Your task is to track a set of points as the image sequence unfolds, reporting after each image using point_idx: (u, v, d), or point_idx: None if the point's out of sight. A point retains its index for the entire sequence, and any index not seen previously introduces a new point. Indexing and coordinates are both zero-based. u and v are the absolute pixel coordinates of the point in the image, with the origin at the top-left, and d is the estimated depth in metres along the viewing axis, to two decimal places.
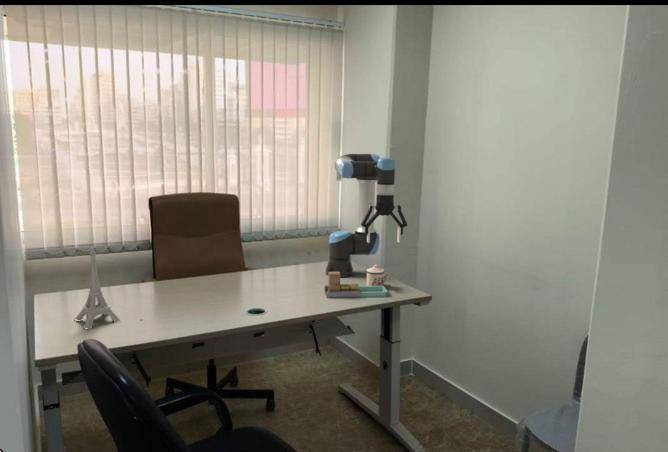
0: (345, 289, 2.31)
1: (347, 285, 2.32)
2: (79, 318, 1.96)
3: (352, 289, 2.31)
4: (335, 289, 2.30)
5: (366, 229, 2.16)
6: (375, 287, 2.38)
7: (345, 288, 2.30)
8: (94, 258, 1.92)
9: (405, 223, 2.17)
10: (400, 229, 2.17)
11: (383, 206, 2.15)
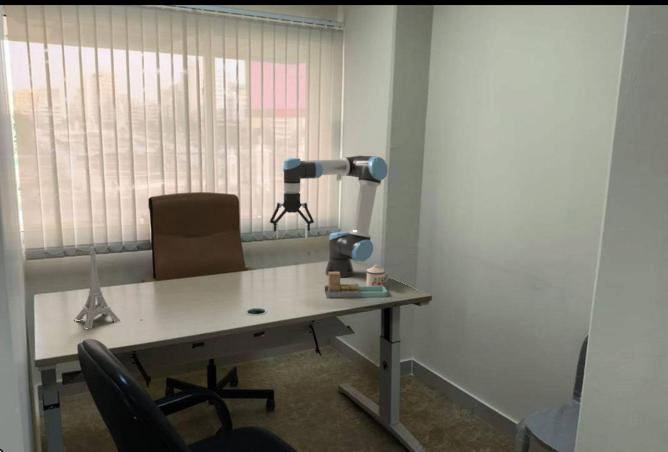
0: (345, 289, 2.31)
1: (347, 285, 2.32)
2: (79, 318, 1.96)
3: (352, 289, 2.31)
4: (335, 289, 2.30)
5: (274, 225, 2.28)
6: (375, 287, 2.38)
7: (345, 288, 2.30)
8: (94, 258, 1.92)
9: (311, 220, 2.29)
10: (307, 225, 2.29)
11: (290, 204, 2.27)
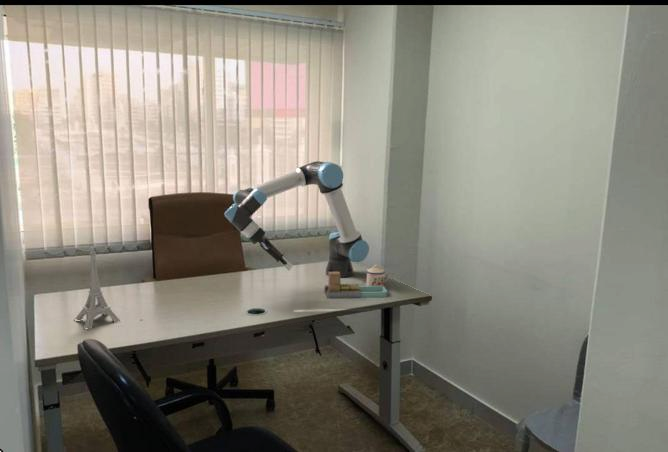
0: (345, 289, 2.31)
1: (347, 285, 2.32)
2: (79, 318, 1.96)
3: (352, 289, 2.31)
4: (335, 289, 2.30)
5: None
6: (375, 287, 2.38)
7: (345, 288, 2.30)
8: (94, 258, 1.92)
9: None
10: None
11: None
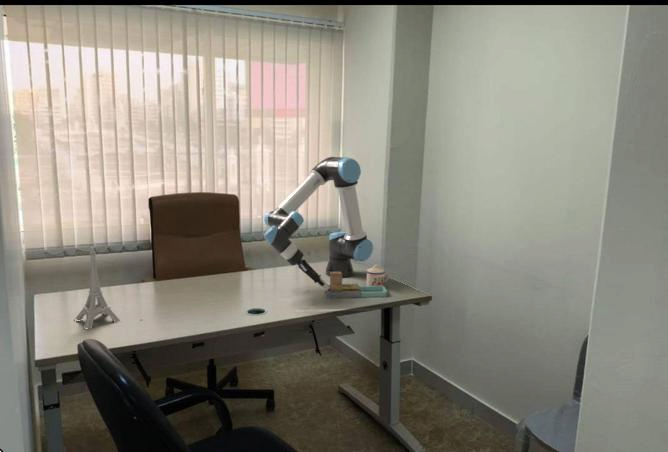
0: (346, 289, 2.31)
1: (348, 285, 2.32)
2: (79, 318, 1.96)
3: (352, 289, 2.31)
4: (337, 289, 2.30)
5: None
6: (375, 287, 2.38)
7: (346, 288, 2.31)
8: (94, 258, 1.92)
9: None
10: (317, 282, 2.29)
11: None
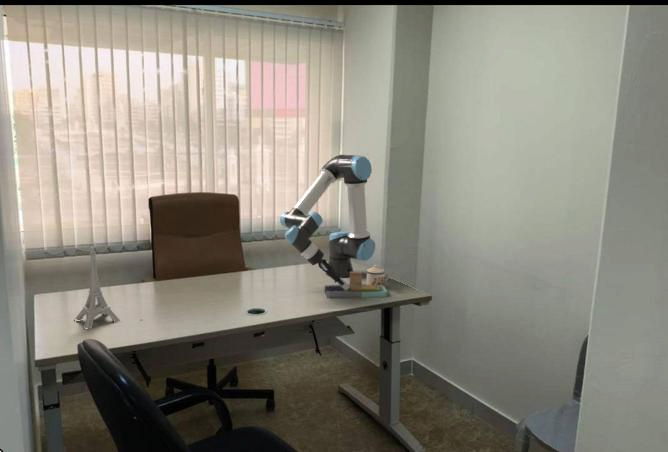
0: (365, 289, 2.32)
1: (367, 285, 2.34)
2: (79, 318, 1.96)
3: (371, 290, 2.32)
4: (357, 289, 2.31)
5: None
6: None
7: (365, 288, 2.32)
8: (94, 258, 1.92)
9: (334, 279, 2.28)
10: (337, 282, 2.31)
11: None
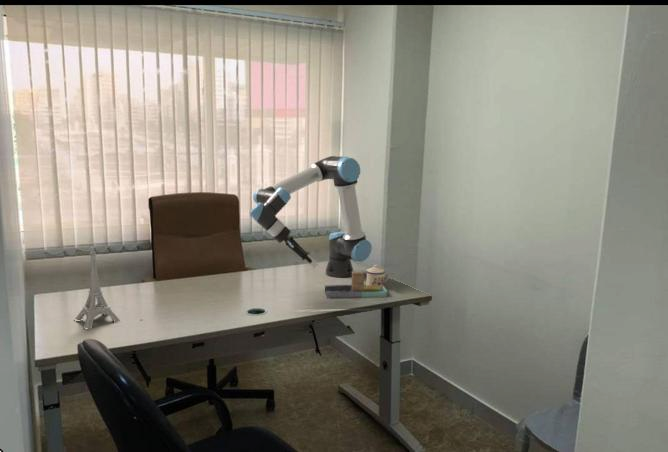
0: (367, 290, 2.32)
1: (369, 286, 2.34)
2: (79, 318, 1.96)
3: (373, 290, 2.32)
4: (359, 288, 2.31)
5: None
6: None
7: (367, 289, 2.32)
8: (94, 258, 1.92)
9: (301, 257, 2.24)
10: None
11: None
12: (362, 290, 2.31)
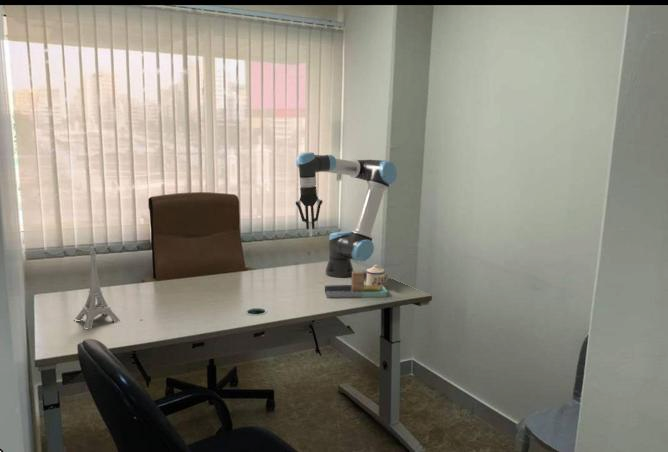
0: (367, 290, 2.32)
1: (369, 286, 2.34)
2: (79, 318, 1.96)
3: (373, 290, 2.32)
4: (359, 288, 2.31)
5: (307, 224, 2.34)
6: None
7: (367, 289, 2.32)
8: (94, 258, 1.92)
9: (316, 218, 2.33)
10: (311, 224, 2.33)
11: None
12: (362, 290, 2.31)
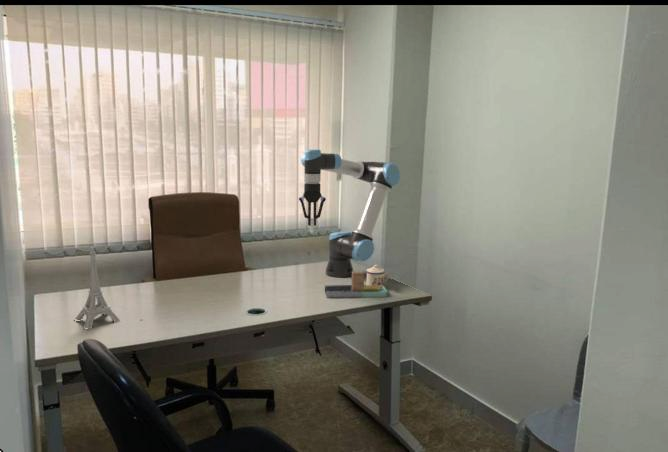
0: (367, 290, 2.32)
1: (369, 286, 2.34)
2: (79, 318, 1.96)
3: (373, 290, 2.32)
4: (359, 288, 2.31)
5: (309, 220, 2.35)
6: None
7: (367, 289, 2.32)
8: (94, 258, 1.92)
9: (319, 215, 2.34)
10: (313, 220, 2.34)
11: None
12: (362, 290, 2.31)
